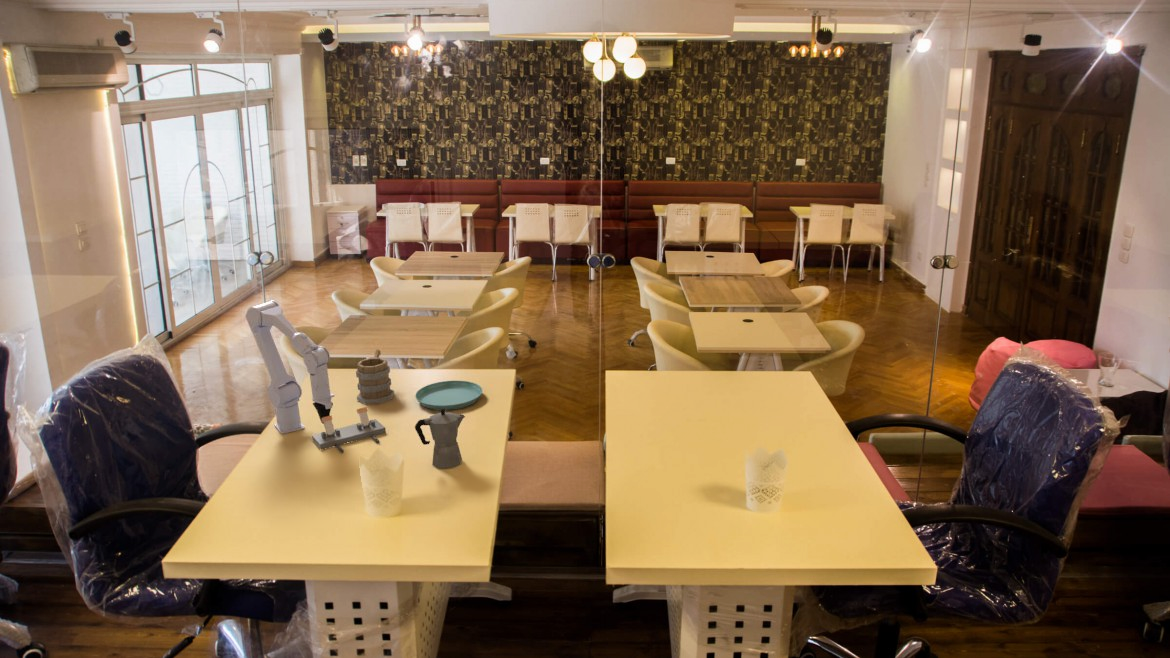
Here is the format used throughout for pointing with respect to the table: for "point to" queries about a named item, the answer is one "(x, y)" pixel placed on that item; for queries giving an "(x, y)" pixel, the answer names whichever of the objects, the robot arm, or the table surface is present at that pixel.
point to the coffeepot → (443, 438)
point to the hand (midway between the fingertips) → (325, 422)
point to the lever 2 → (363, 417)
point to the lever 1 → (328, 425)
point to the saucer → (449, 395)
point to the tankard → (374, 380)
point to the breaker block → (349, 435)
